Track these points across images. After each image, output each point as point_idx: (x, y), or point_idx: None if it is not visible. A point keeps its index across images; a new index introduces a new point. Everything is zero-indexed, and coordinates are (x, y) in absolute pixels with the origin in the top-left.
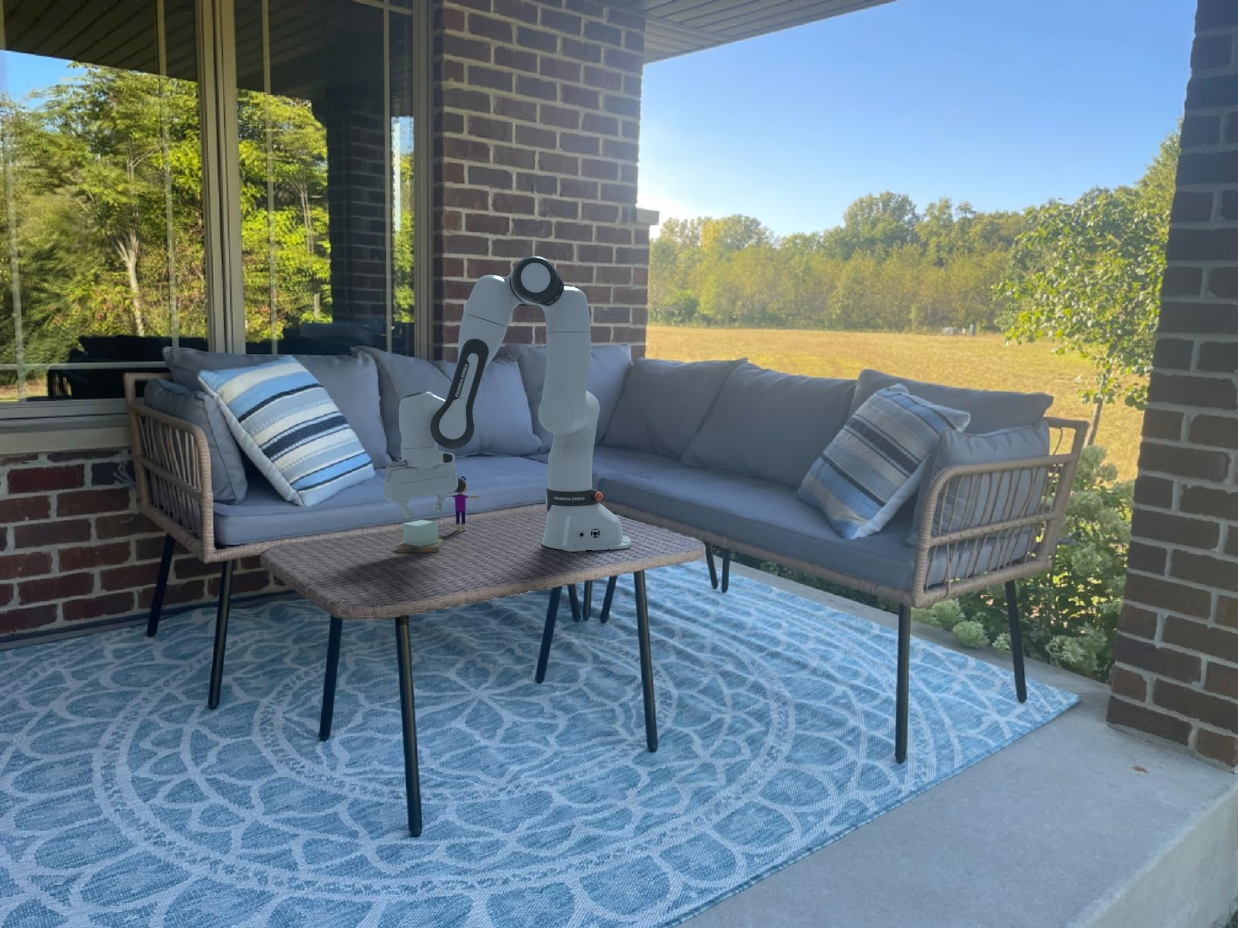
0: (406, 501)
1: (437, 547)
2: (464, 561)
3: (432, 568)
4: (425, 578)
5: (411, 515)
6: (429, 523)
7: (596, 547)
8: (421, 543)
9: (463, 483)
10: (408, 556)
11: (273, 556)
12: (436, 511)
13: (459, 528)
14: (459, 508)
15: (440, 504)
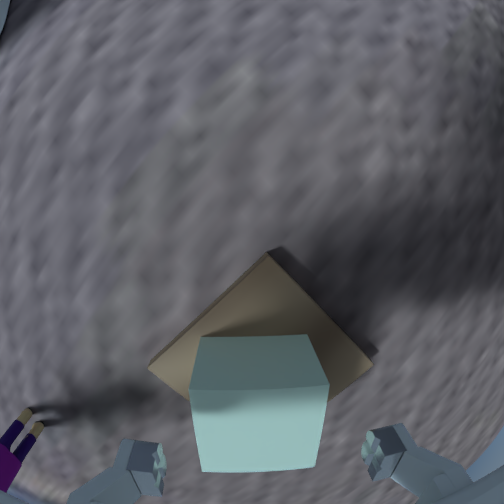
0: (450, 484)
1: (266, 265)
2: (308, 46)
3: (438, 78)
4: (487, 39)
5: (382, 431)
6: (232, 406)
7: None
8: (295, 339)
9: None
10: (389, 279)
11: (482, 452)
12: (161, 453)
13: (34, 424)
14: (8, 459)
15: (131, 472)
